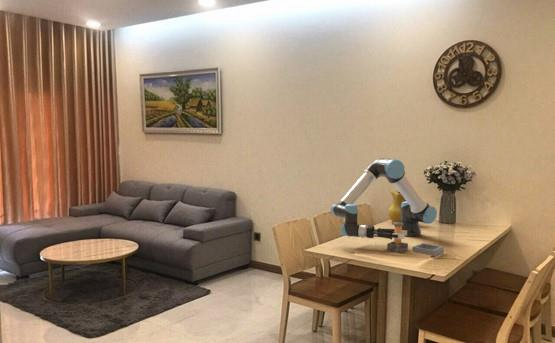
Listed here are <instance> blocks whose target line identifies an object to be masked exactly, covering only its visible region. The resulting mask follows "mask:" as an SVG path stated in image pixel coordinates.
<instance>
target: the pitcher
mask: <svg viewBox="0 0 555 343" xmlns="http://www.w3.org/2000/svg"><path fill="white" fill-rule="evenodd" d="M390 194H391V196H392V204H391V206H390V207H389V209H388V212H387V214H388V216H389V220H390V221H391V223H392V225H393V223H394V222H401V204H402V202H405V201H406V200H405V198H404V197H403V196H402V194H401V193H400V192H399V191H391V192H390Z"/></svg>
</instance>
